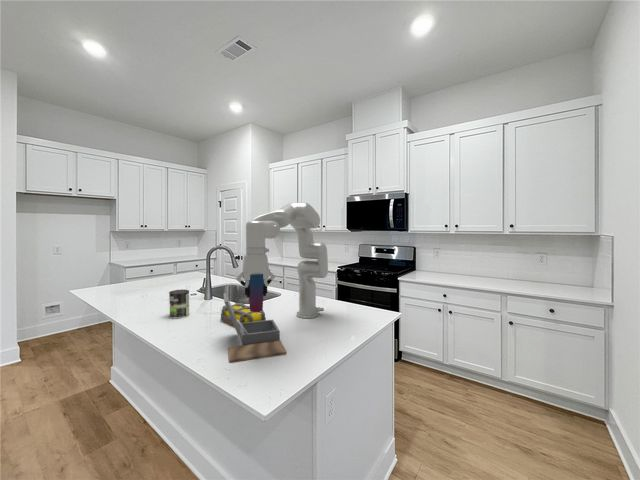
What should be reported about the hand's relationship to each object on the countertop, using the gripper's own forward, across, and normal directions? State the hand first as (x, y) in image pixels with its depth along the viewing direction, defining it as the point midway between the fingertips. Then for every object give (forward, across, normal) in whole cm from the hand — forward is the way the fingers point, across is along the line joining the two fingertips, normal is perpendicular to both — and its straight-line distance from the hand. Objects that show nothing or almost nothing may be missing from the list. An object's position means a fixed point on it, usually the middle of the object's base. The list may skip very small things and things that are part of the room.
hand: (256, 295), depth 116 cm
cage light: (+24, +2, -39) cm, 46 cm away
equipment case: (+23, -2, -15) cm, 28 cm away
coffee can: (+23, +35, -62) cm, 75 cm away
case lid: (+11, +8, -15) cm, 20 cm away
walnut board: (+23, 0, 0) cm, 23 cm away
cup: (+6, 0, 0) cm, 6 cm away
